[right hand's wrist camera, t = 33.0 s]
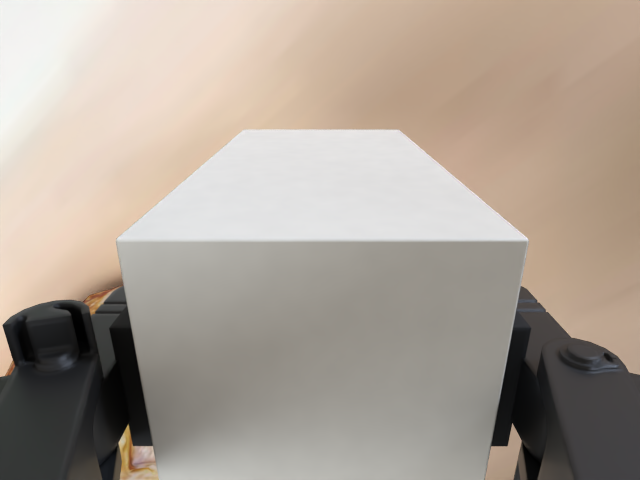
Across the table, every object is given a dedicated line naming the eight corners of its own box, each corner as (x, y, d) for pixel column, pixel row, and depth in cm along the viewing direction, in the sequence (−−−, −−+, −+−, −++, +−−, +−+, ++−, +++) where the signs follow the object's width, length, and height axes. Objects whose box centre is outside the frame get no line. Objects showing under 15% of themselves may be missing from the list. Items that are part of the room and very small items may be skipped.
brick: (242, 129, 17) (113, 239, 6) (399, 129, 17) (530, 239, 6) (252, 284, 19) (170, 551, 9) (389, 284, 19) (472, 551, 9)
